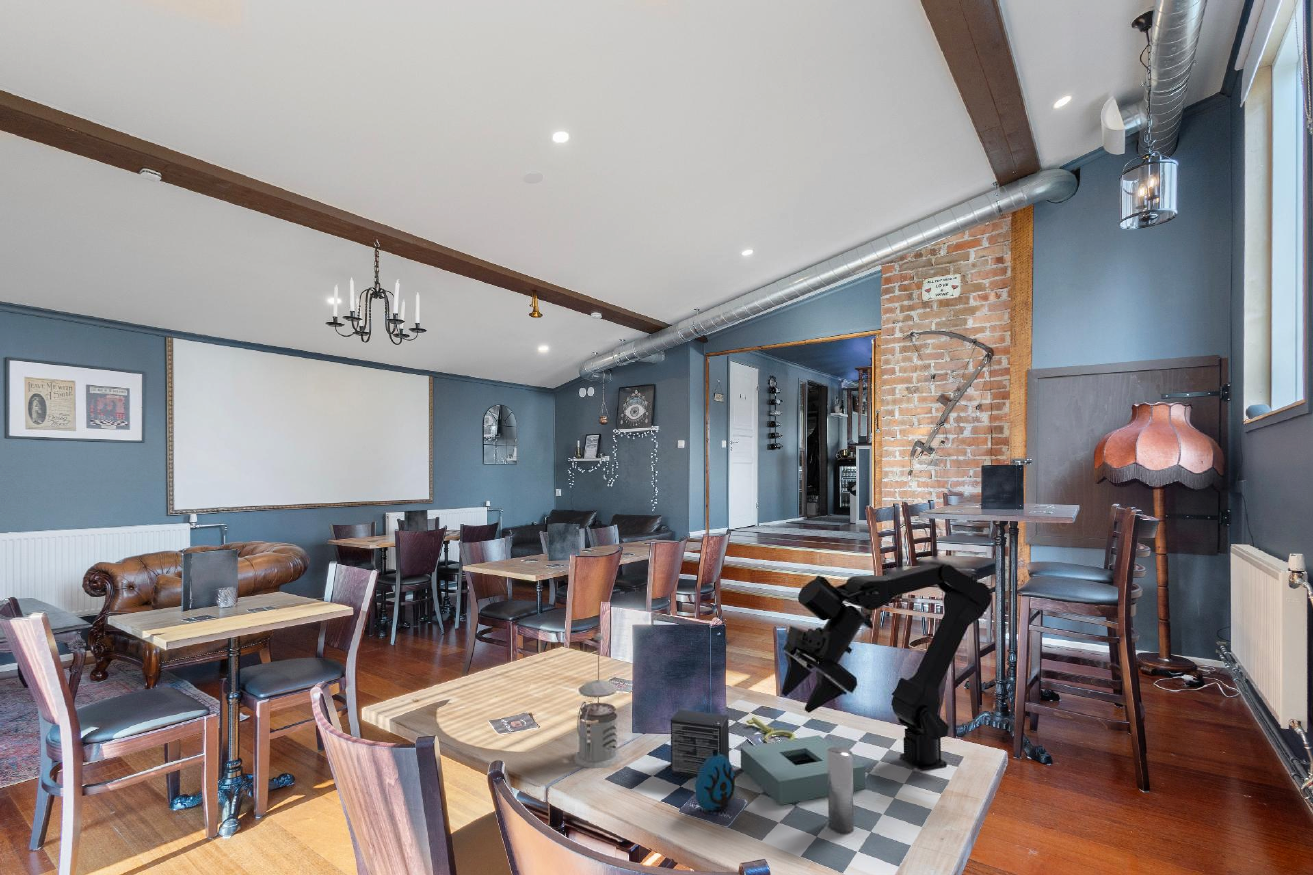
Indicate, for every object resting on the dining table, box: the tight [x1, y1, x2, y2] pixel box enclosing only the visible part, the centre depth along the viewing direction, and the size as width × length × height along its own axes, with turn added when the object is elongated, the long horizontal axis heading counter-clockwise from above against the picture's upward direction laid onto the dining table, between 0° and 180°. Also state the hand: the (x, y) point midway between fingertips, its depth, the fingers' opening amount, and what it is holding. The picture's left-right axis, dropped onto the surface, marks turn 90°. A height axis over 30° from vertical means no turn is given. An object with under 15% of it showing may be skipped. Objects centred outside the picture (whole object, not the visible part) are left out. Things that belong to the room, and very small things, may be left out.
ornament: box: [694, 749, 736, 811], centre depth 111 cm, size 8×5×10 cm, turn 126°
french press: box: [573, 632, 623, 769], centre depth 131 cm, size 10×12×25 cm
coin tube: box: [827, 746, 855, 835], centre depth 105 cm, size 4×4×12 cm
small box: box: [669, 709, 730, 779], centre depth 125 cm, size 11×6×10 cm, turn 71°
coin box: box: [740, 734, 867, 806], centre depth 122 cm, size 18×15×4 cm
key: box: [746, 716, 796, 742], centre depth 142 cm, size 7×12×2 cm, turn 46°
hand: (794, 702), depth 122 cm, fingers open, 9 cm apart
